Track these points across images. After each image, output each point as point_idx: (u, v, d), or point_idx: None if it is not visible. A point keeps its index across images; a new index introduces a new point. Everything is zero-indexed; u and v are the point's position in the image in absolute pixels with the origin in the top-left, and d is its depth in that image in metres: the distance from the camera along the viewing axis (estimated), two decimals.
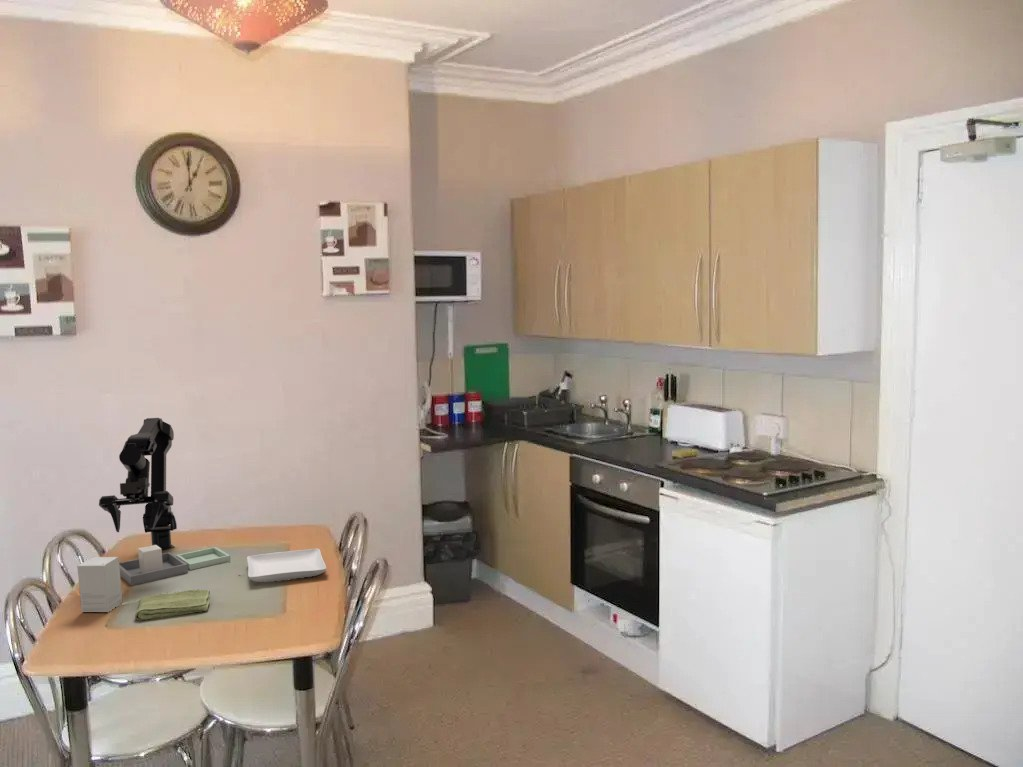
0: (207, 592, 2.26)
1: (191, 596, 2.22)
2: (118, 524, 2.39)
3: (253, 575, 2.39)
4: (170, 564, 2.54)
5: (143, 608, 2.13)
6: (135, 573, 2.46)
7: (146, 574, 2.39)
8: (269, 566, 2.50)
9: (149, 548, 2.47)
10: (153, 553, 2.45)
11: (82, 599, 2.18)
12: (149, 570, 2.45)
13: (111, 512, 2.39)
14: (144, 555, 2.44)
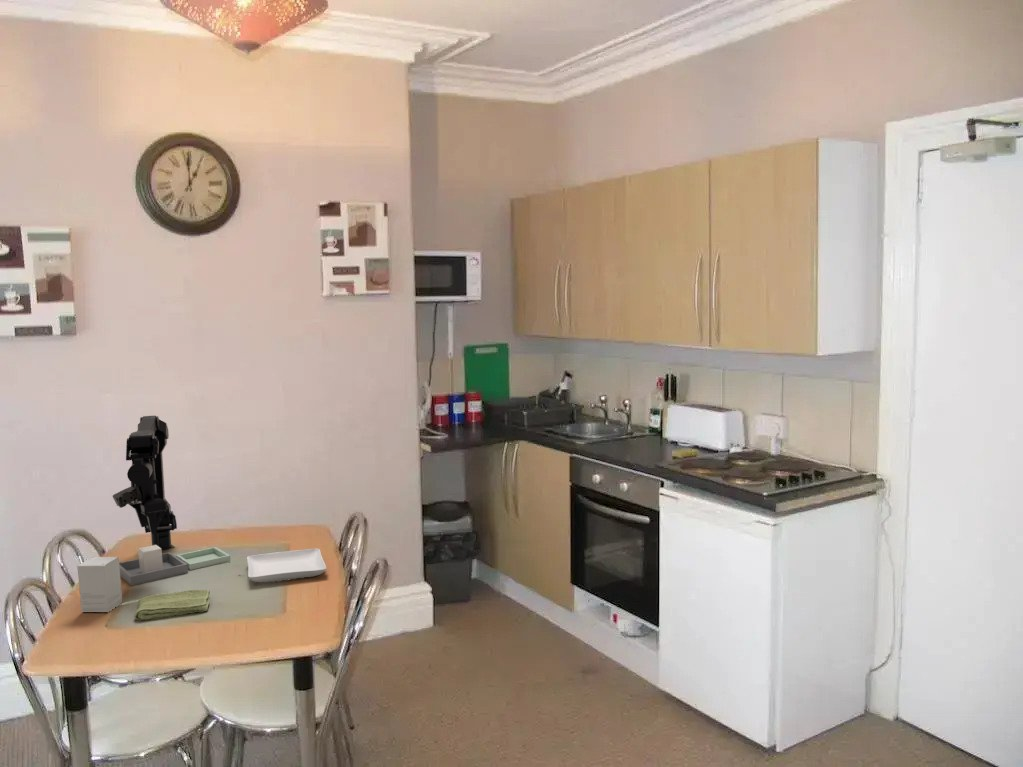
0: (207, 592, 2.26)
1: (191, 596, 2.22)
2: (141, 520, 2.49)
3: (253, 575, 2.39)
4: (170, 564, 2.54)
5: (143, 608, 2.13)
6: (135, 573, 2.46)
7: (146, 574, 2.39)
8: (269, 566, 2.50)
9: (149, 548, 2.47)
10: (153, 553, 2.45)
11: (82, 599, 2.18)
12: (149, 570, 2.45)
13: None
14: (144, 555, 2.44)
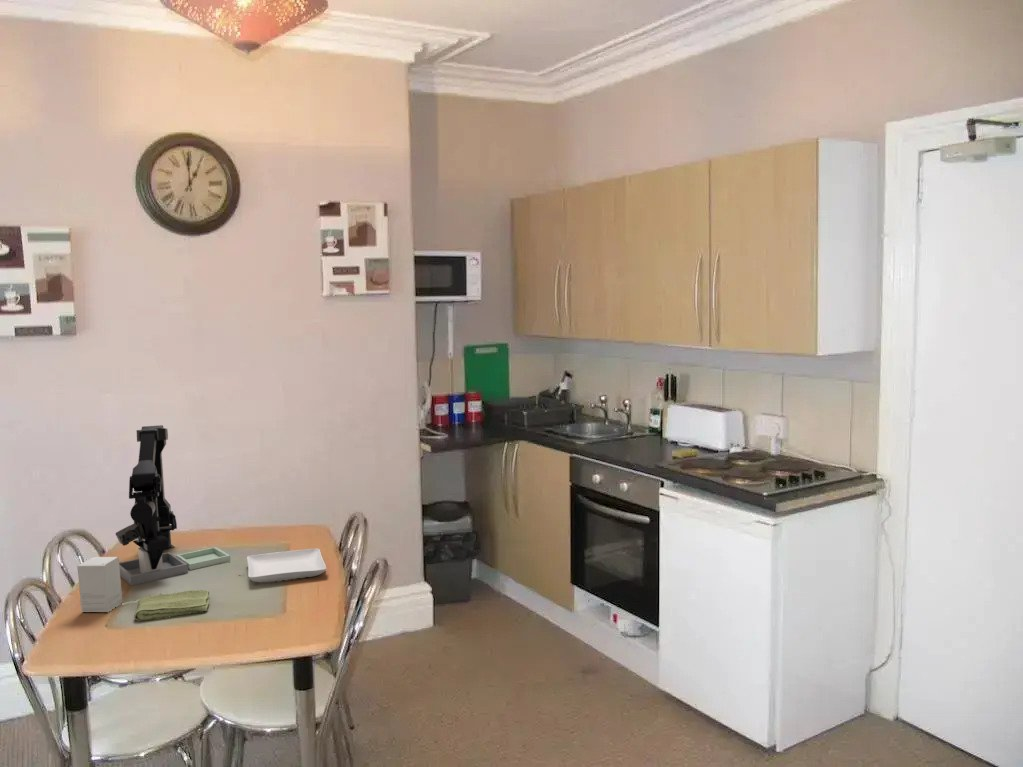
0: (207, 592, 2.26)
1: (190, 596, 2.22)
2: None
3: (253, 575, 2.39)
4: (170, 564, 2.54)
5: (142, 608, 2.13)
6: (135, 573, 2.46)
7: (146, 574, 2.39)
8: (269, 566, 2.50)
9: None
10: None
11: (82, 599, 2.18)
12: (149, 570, 2.45)
13: (139, 546, 2.49)
14: (144, 555, 2.44)
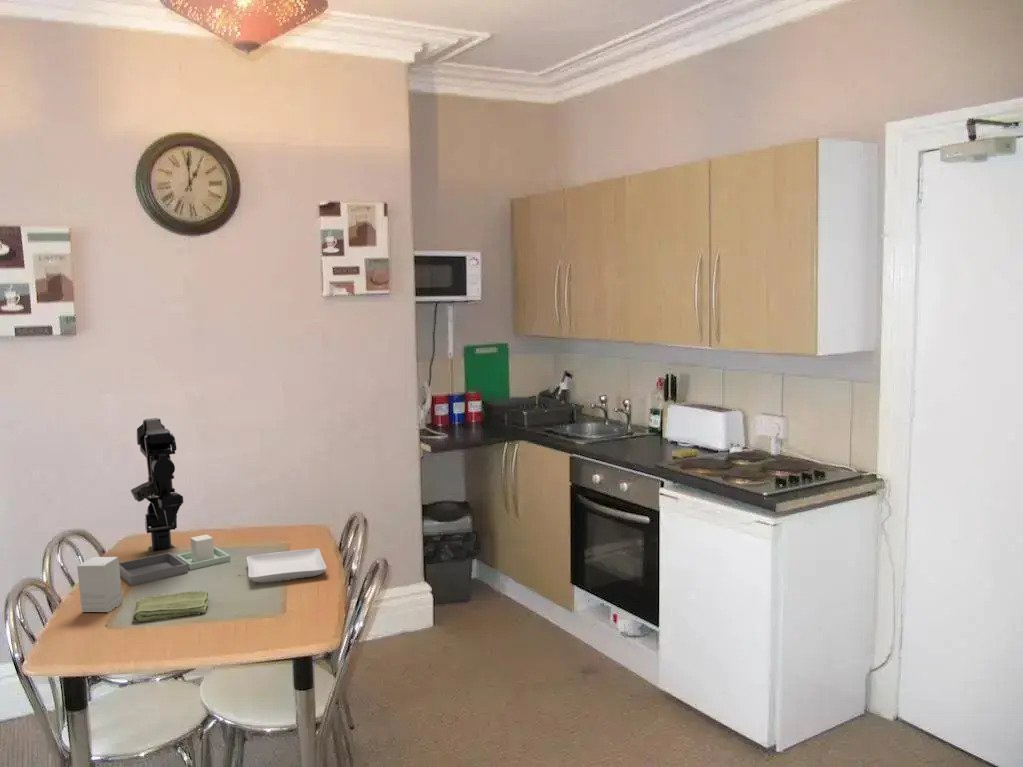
0: (205, 594, 2.25)
1: (189, 598, 2.21)
2: (157, 514, 2.60)
3: (253, 575, 2.39)
4: (170, 564, 2.54)
5: (141, 610, 2.12)
6: (135, 573, 2.46)
7: (146, 574, 2.39)
8: (269, 566, 2.50)
9: (201, 537, 2.56)
10: (206, 542, 2.55)
11: (82, 599, 2.18)
12: (201, 558, 2.54)
13: (151, 503, 2.60)
14: (197, 544, 2.53)
